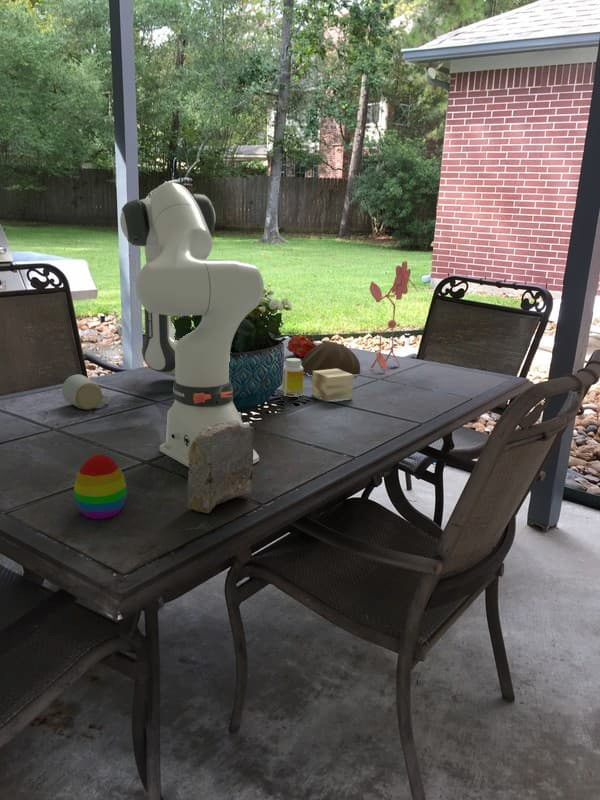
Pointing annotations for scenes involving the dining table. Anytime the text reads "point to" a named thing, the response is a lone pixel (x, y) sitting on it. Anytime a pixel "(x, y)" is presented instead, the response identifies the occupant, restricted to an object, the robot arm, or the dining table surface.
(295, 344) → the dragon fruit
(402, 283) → the figurine
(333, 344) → the decorative dome
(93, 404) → the ceramic mug
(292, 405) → the dining table surface
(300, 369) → the supplement bottle
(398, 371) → the dining table surface
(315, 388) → the beech block
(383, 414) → the dining table surface
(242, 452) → the geological specimen
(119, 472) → the decorative egg
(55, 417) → the dining table surface
